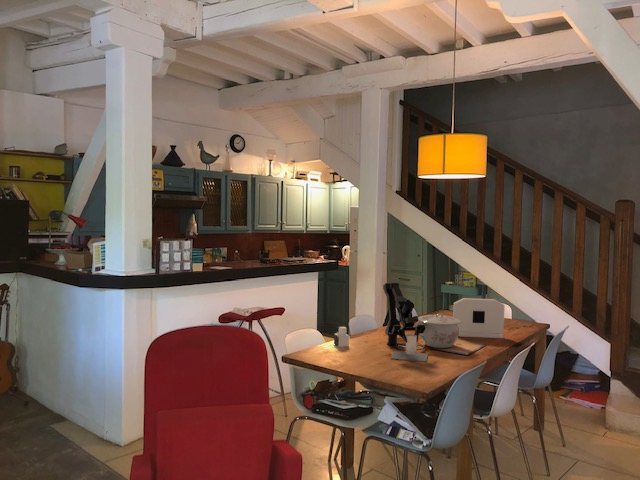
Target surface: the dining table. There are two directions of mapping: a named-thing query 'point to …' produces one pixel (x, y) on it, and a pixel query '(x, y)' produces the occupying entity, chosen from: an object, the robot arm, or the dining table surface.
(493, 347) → the dining table surface
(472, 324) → the grey boxy block
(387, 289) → the robot arm
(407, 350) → the canister
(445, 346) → the chamber pot
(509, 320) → the dining table surface
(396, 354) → the mat
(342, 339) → the grey bottle
